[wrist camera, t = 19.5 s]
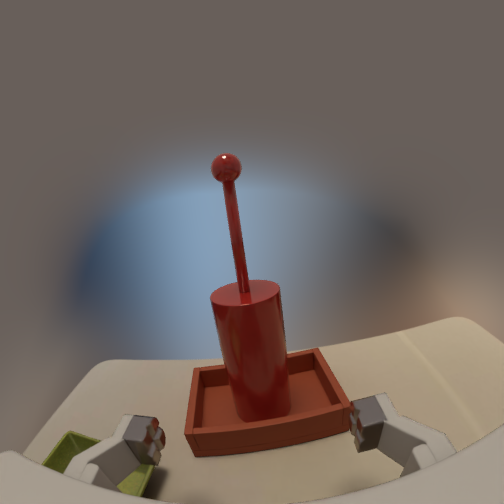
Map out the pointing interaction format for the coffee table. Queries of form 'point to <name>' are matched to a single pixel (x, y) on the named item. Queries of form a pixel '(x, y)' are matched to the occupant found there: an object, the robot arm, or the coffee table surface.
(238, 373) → the red ball-topped plunger
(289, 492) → the coffee table surface
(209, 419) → the red tray
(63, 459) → the green tray
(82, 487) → the robot arm
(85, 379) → the coffee table surface
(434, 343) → the coffee table surface
